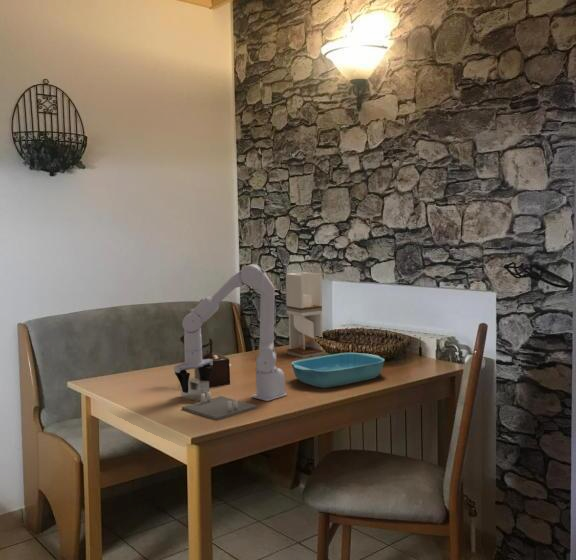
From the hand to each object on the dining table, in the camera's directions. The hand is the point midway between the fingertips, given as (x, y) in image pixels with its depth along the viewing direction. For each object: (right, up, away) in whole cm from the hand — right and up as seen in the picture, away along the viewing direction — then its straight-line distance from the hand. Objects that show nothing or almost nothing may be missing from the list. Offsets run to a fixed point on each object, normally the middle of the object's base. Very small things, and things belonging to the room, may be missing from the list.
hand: (194, 389), depth 213 cm
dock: (+10, -4, -13) cm, 17 cm away
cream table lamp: (+38, +4, +66) cm, 76 cm away
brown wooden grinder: (+1, -1, +19) cm, 19 cm away
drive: (0, -3, 0) cm, 3 cm away
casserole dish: (+49, 0, +22) cm, 54 cm away
